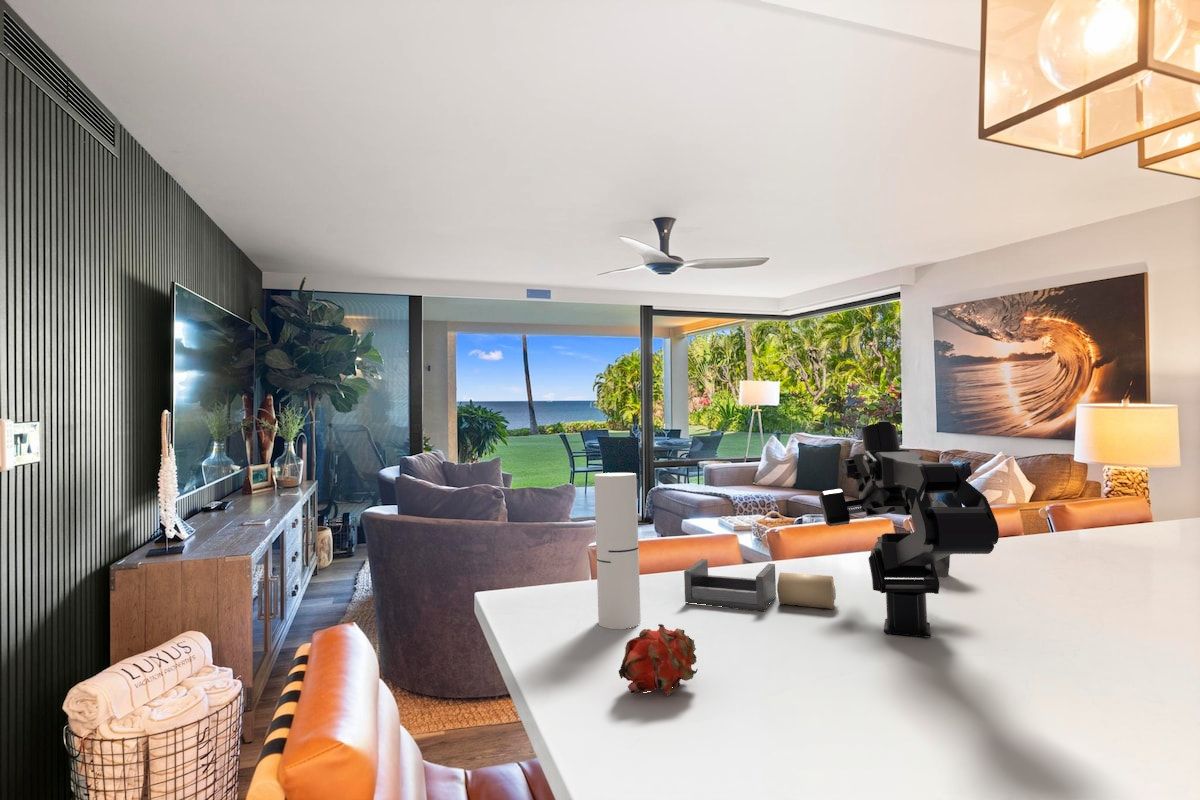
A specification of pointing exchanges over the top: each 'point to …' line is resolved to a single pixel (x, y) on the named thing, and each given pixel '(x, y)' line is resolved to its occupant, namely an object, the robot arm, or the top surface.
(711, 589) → the cradle
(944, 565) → the beverage cup
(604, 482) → the cylindrical container
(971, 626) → the top surface
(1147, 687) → the top surface
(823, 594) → the paper roll
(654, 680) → the dragon fruit
